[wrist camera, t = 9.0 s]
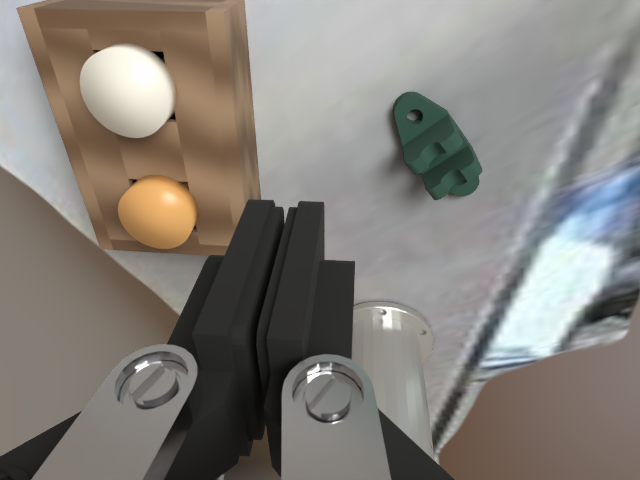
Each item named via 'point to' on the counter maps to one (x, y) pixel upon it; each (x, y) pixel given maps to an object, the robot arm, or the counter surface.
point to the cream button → (129, 89)
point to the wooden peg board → (178, 131)
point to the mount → (436, 148)
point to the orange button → (158, 211)
